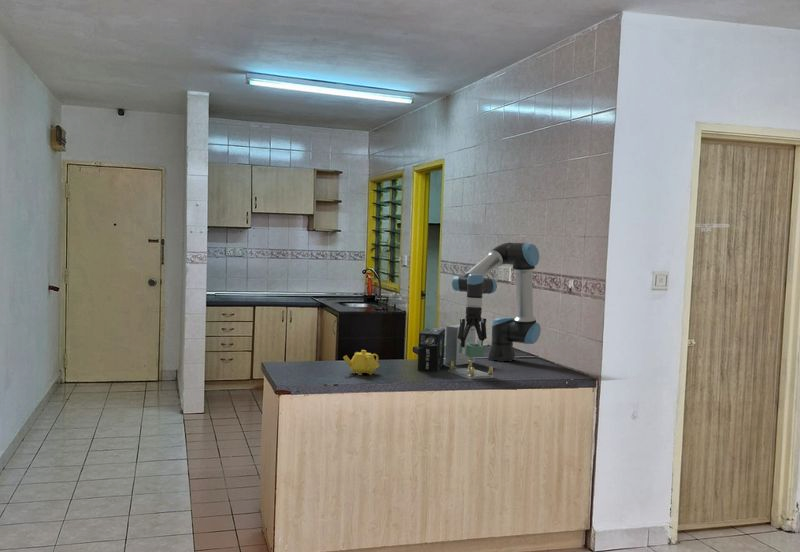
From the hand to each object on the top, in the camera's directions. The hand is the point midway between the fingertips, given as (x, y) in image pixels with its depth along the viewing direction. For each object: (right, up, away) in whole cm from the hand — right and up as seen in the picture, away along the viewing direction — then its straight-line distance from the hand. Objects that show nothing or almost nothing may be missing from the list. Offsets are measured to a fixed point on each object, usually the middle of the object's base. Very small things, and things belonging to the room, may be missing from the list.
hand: (471, 353), depth 350 cm
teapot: (-53, -8, -9) cm, 54 cm away
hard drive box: (-3, -9, +32) cm, 33 cm away
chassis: (0, -10, +1) cm, 10 cm away
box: (-19, -9, +15) cm, 26 cm away
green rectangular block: (0, 0, 0) cm, 0 cm away
